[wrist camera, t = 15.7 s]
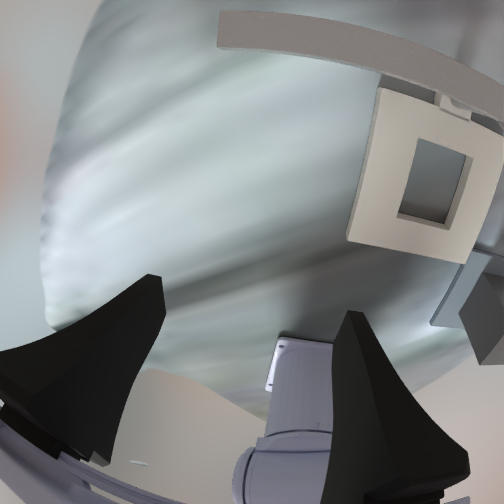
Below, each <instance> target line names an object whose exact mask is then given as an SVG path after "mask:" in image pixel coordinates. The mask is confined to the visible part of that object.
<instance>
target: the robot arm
mask: <svg viewBox="0 0 504 504" xmlns="http://www.w3.org/2000/svg"><path fill="white" fill-rule="evenodd" d="M165 316H166V309H165V301H164V294H163V286H162V278H161V277H160V276H156V275H151V274H147V275H145V276H144V277H142V278H141V279H139V280H138V281H137V282H135V283H134V284H132V285H131V286H130V287H128V288H127V289H126V290H124V291H123V292H121V293H120V294H119V295H117V296H116V297H114V298H113V299H112V300H110V301H109V302H107V303H106V304H104V305H103V306H101V307H100V308H98V309H97V310H95V311H94V312H92V313H91V314H89V315H88V316H86V317H84V318H83V319H81V320H79V321H77V322H76V323H74V324H72V325H70V326H68V327H66V328H64V329H62V330H60V331H58V332H56V333H54V334H52V335H49V336H47V337H45V338H42V339H40V340H37V341H35V342H32V343H29V344H26V345H23V346H20V347H17V348H12V349H8V350H4V351H0V399H1V400H2V401H3V402H4V405H3V407H1V406H0V479H1V480H2V481H3V482H4V483H5V484H6V485H7V486H8V487H9V488H10V489H11V490H12V491H13V492H14V493H15V494H16V495H17V496H18V497H19V498H20V499H21V500H23V501H24V502H25V503H26V504H119V503H117V502H115V501H113V500H110V499H108V498H106V497H104V496H102V495H99V494H97V493H95V492H93V491H92V490H91V488H90V485H89V483H90V484H92V485H94V486H96V487H98V488H100V489H102V490H104V491H106V492H108V493H111V494H112V495H115V496H117V497H120V498H122V499H124V500H127V501H129V502H132V503H134V504H185V503H181V502H178V501H174V500H171V499H168V498H165V497H161V496H159V495H156V494H153V493H150V492H147V491H144V490H142V489H139V488H137V487H134V486H132V485H129V484H126V483H124V482H122V481H119V480H117V479H115V478H112V477H110V476H108V475H106V474H104V473H102V472H100V471H98V470H95V469H94V468H92V467H90V466H88V465H86V464H84V463H82V462H80V459H82V460H85V461H86V462H89V461H92V462H94V463H96V464H98V465H100V466H107V465H109V464H110V462H111V456H112V451H113V446H114V442H115V438H116V434H117V430H118V426H119V423H120V419H121V416H122V413H123V410H124V407H125V404H126V401H127V398H128V396H129V393H130V390H131V387H132V385H133V383H134V380H135V378H136V376H137V374H138V372H139V370H140V369H141V367H142V365H143V363H144V361H145V359H146V357H147V355H148V353H149V352H150V350H151V348H152V346H153V344H154V342H155V340H156V338H157V336H158V334H159V332H160V329H161V327H162V324H163V321H164V318H165ZM265 389H266V390H267V391H272V392H271V398H270V405H269V411H268V417H267V423H266V429H265V435H264V437H258V438H257V442H256V447H250V448H248V449H247V450H246V451H245V452H244V453H243V454H242V455H241V456H240V458H239V459H238V461H237V463H236V466H235V469H234V474H233V479H232V495H233V499H234V502H235V504H440V499H442V498H443V497H444V489H446V488H448V487H451V486H453V485H455V484H457V483H459V482H461V481H462V480H465V479H466V478H467V477H468V476H469V475H470V465H469V458H468V452H467V451H466V450H465V449H464V448H462V447H461V446H460V445H459V444H458V443H456V442H455V441H454V440H453V439H452V438H450V437H449V436H448V435H447V434H446V433H445V432H444V431H443V430H442V429H441V428H440V427H439V426H438V425H437V424H436V423H435V422H434V421H433V420H432V419H431V417H430V416H429V415H428V414H427V413H426V412H425V411H424V409H423V408H422V407H421V406H420V405H419V403H418V402H417V401H416V400H415V398H414V397H413V396H412V394H411V393H410V391H409V390H408V389H407V387H406V386H405V385H404V383H403V382H402V380H401V379H400V377H399V376H398V374H397V372H396V371H395V369H394V368H393V366H392V364H391V363H390V361H389V359H388V357H387V356H386V354H385V352H384V350H383V349H382V347H381V345H380V343H379V341H378V339H377V338H376V336H375V334H374V332H373V330H372V328H371V326H370V324H369V323H368V321H367V319H366V317H365V315H364V314H363V312H357V311H350V310H348V311H347V313H346V316H345V318H344V320H343V323H342V325H341V327H340V330H339V332H338V334H337V336H336V339H335V341H334V343H333V344H329V343H321V342H314V341H307V340H300V339H294V338H287V337H279V338H278V339H277V343H276V347H275V351H274V355H273V359H272V363H271V367H270V370H269V374H268V378H267V382H266V385H265ZM87 482H88V483H87ZM444 504H470V497H469V496H467V497H464V498H461V499H458V500H454V501H451V502H448V503H444Z"/></svg>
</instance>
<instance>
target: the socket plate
mask: <svg viewBox="0 0 504 504" xmlns="http://www.w3.org/2000/svg"><path fill="white" fill-rule="evenodd" d="M472 112H474V113H478V114H481V115H484V116H487V115H485V114H483V113H482V112H480V111H478V110H475V109H473V108H471V107H469V106H467V105H465V104H463V103H461V102H458V101H456V100H454V99H452V98H449V97H447V96H444V95H442V94H440V93H437V92H435V98H434V104H430V103H428V102H425V101H422V100H420V99H417V98H414V97H411V96H408V95H405V94H402V93H399V92H395V91H392V90H389V89H385V88H381V87H378V89H377V95H376V101H375V107H374V113H373V118H372V123H371V129H370V134H369V139H368V143H367V148H366V153H365V158H364V162H363V166H362V171H361V175H360V179H359V184H358V188H357V192H356V196H355V200H354V204H353V207H352V211H351V215H350V219H349V222H348V226H347V230H346V233H345V234H346V238H347V241H351V242H357V243H362V244H367V245H372V246H378V247H383V248H388V249H393V250H398V251H403V252H408V253H413V254H418V255H423V256H427V257H432V258H437V259H442V260H446V261H451V262H456V263H460V264H465V263H466V261H467V259H468V257H469V255H470V253H471V250H472V248H473V246H474V244H475V242H476V239H477V237H478V235H479V232H480V230H481V228H482V225H483V223H484V220H485V218H486V215H487V212H488V210H489V207H490V204H491V202H492V199H493V196H494V193H495V190H496V187H497V184H498V181H499V177H500V174H501V171H502V167H503V164H504V137H502V136H501V135H499V134H497V133H495V132H493V131H491V130H489V129H487V128H485V127H483V126H481V125H479V124H477V123H475V122H473V121H471V120H470V119H471V114H472ZM487 117H489V116H487ZM418 138H421V139H424V140H427V141H430V142H433V143H436V144H438V145H441V146H444V147H447V148H449V149H452V150H455V151H457V152H460V153H462V154H465V155H466V159H465V162H464V166H463V169H462V173H461V176H460V180H459V183H458V186H457V189H456V192H455V195H454V198H453V201H452V204H451V207H450V210H449V212H448V215H447V218H446V220H445V223H444V224H441V223H437V222H433V221H429V220H426V219H422V218H418V217H414V216H410V215H405V214H401V213H398V210H399V207H400V204H401V201H402V197H403V194H404V191H405V187H406V184H407V180H408V177H409V173H410V169H411V166H412V162H413V158H414V154H415V150H416V146H417V141H418Z"/></svg>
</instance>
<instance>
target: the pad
mask: <svg viewBox="0 0 504 504" xmlns="http://www.w3.org/2000/svg"><path fill="white" fill-rule="evenodd" d="M482 272H485V273H489V274H494V275H498V276H503V277H504V257H502V256H498V255H495V254H491V253H488V252H484V251H480V250H476V249H473V248H472V250H471V253H470V255H469V257H468V259H467V261H466V263H465V264H461V266H460V268H459V270H458V272H457V274H456V276H455V278H454V280H453V282H452V284H451V286H450V288H449V289H448V291H447V293H446V295H445V297H444V298H443V300H442V302H441V304H440V305H439V307H438V309H437V310H436V312H435V314H434V315H433V317H432V319H431V320H430V325H431V326H439V327H450V328H461V329H465V328H464V325H463V323H462V321H461V319H460V316H459V314H458V313H459V311H460V309H461V308H462V306H463V305H464V303H465V301H466V300H467V298H468V296H469V294H470V293H471V291H472V289H473V287H474V286H475V284H476V282H477V280H478V278H479V277H480V275H481V273H482Z"/></svg>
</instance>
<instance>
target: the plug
mask: <svg viewBox="0 0 504 504" xmlns="http://www.w3.org/2000/svg"><path fill="white" fill-rule="evenodd" d="M458 314H459V316H460V319H461V321H462V323H463V325H464V328H465V330H466V332H467V335H468V337H469V340H470V342H471V345H472V347H473V350H474V352H475V355H476V358H477V360H478V363H479V365H502V364H504V277H503V276H498V275H494V274H489V273H485V272H482V273H481V275H480V277H479V278H478V280H477V282H476V284H475V286H474V287H473V289H472V291H471V293H470V294H469V296H468V298H467V300H466V301H465V303H464V305H463V306H462V308H461V309H460V311H459V313H458Z"/></svg>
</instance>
